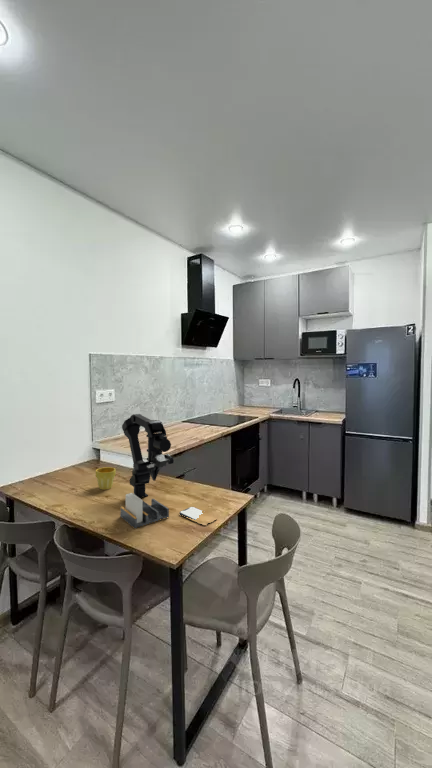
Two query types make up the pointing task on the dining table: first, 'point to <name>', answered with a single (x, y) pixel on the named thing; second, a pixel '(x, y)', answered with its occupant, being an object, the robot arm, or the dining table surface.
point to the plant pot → (105, 477)
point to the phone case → (191, 513)
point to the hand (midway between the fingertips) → (154, 480)
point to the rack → (146, 514)
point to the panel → (135, 506)
